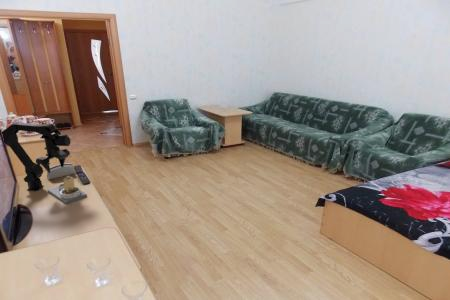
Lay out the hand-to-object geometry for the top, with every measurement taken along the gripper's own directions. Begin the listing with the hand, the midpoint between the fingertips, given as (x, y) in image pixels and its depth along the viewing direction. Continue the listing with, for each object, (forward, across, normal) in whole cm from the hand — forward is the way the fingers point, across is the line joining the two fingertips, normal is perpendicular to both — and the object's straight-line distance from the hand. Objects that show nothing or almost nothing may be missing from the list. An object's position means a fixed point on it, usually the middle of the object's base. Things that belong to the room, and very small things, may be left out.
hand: (55, 169), depth 170 cm
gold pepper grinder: (+11, -5, -14) cm, 19 cm away
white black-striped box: (+13, +15, +15) cm, 25 cm away
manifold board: (+13, -3, -9) cm, 16 cm away
